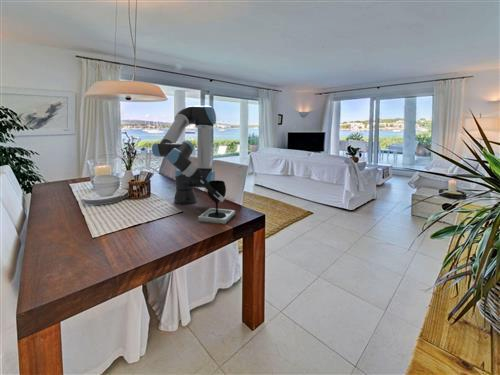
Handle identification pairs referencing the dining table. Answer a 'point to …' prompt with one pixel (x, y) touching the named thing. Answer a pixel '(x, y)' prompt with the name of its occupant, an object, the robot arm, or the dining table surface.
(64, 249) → the dining table surface
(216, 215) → the wine glass
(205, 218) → the tray
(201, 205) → the dining table surface
